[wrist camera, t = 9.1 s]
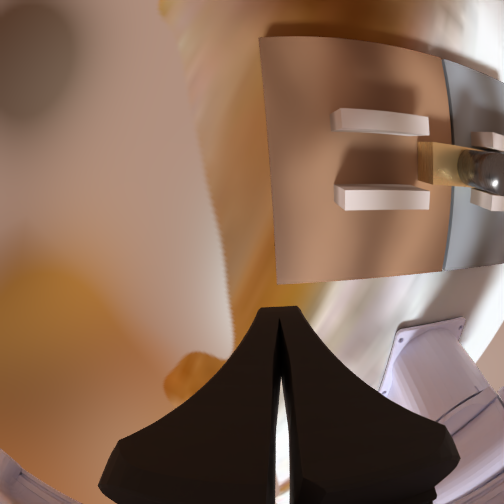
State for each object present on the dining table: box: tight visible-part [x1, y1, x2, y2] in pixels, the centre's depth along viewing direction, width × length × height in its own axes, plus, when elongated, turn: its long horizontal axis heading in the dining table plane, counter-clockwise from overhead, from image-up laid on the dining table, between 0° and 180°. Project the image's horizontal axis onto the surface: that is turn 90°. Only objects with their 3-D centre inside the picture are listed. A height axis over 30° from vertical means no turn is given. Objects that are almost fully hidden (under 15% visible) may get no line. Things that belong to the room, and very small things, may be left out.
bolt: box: [417, 142, 504, 196], centre depth 11 cm, size 8×2×5 cm, turn 95°
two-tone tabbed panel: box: [259, 36, 504, 284], centre depth 13 cm, size 20×15×4 cm
